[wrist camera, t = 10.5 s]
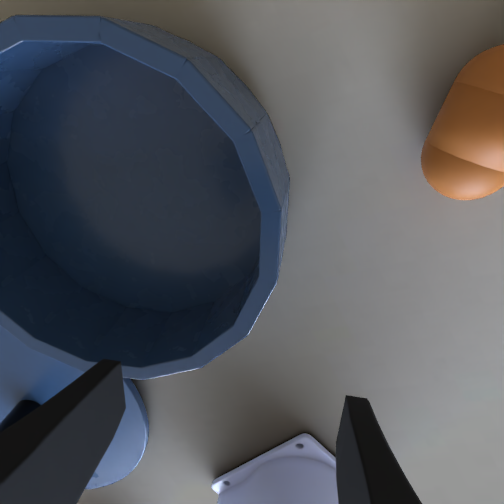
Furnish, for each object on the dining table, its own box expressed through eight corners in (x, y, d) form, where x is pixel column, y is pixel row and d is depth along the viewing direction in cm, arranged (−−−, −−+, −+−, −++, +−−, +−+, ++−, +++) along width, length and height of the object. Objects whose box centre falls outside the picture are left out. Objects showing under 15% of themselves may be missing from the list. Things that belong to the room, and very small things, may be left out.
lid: (71, 500, 35) (36, 562, 31) (-99, 379, 31) (-165, 431, 27) (199, 421, 28) (177, 485, 24) (3, 255, 25) (-63, 297, 20)
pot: (158, 357, 26) (122, 423, 22) (-46, 180, 23) (-141, 213, 18) (353, 208, 20) (364, 254, 16) (114, -65, 17) (35, -111, 12)
